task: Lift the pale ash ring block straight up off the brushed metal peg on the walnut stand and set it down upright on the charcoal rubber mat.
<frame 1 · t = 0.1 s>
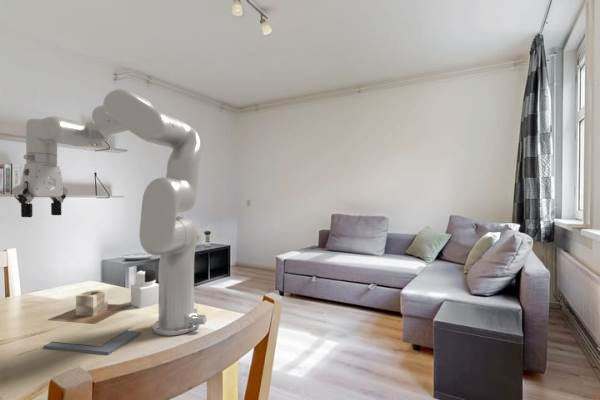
hand: (42, 216, 102), 31 cm above the table, tool pointing down, fingers open, 9 cm apart
ring block: (92, 312, 104), point 1 cm above the table, touching peg stand
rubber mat: (94, 340, 86), on the table
peg stand: (92, 314, 104), on the table
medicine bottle: (145, 306, 113), on the table
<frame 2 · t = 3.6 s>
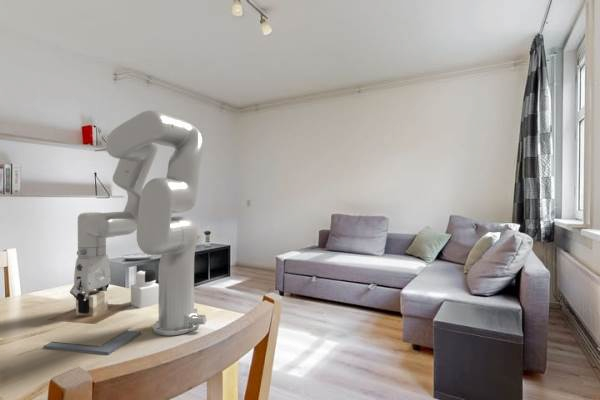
hand: (92, 308, 104), 2 cm above the table, tool pointing down, fingers closed on ring block, 6 cm apart
ring block: (92, 312, 104), point 1 cm above the table, touching gripper, peg stand
everything else where it was.
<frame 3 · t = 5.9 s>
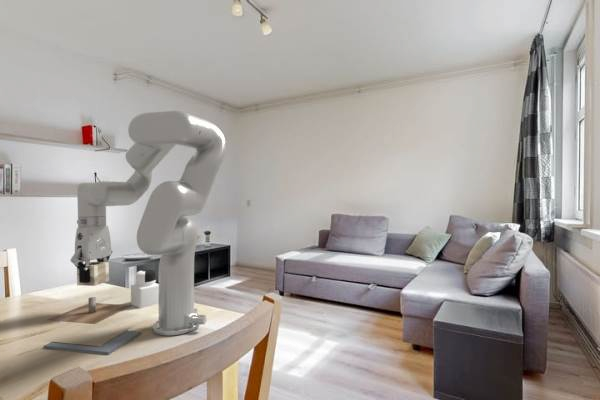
hand: (93, 279, 104), 11 cm above the table, tool pointing down, fingers closed on ring block, 6 cm apart
ring block: (93, 283, 104), point 10 cm above the table, touching gripper
everything else where it was.
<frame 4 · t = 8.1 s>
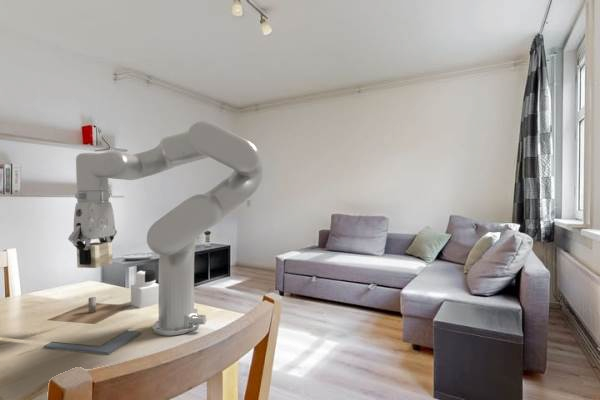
hand: (95, 261, 93), 19 cm above the table, tool pointing down, fingers closed on ring block, 6 cm apart
ring block: (95, 265, 93), point 18 cm above the table, touching gripper
everything else where it was.
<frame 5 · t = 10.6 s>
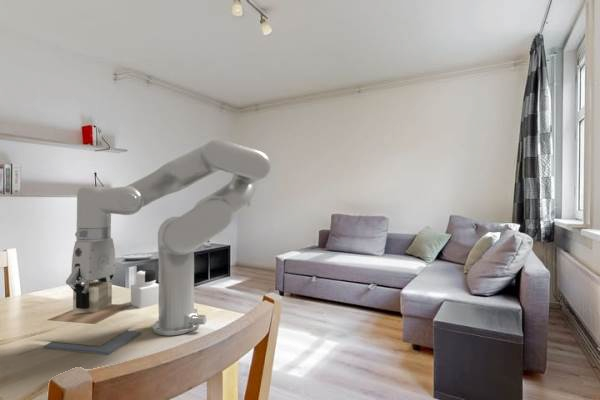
hand: (93, 303, 86), 10 cm above the table, tool pointing down, fingers closed on ring block, 6 cm apart
ring block: (92, 307, 86), point 9 cm above the table, touching gripper
everything else where it was.
when the fingers open (3 cm above the table, at t = 12.7 s): ring block drops 1 cm, resting on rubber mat.
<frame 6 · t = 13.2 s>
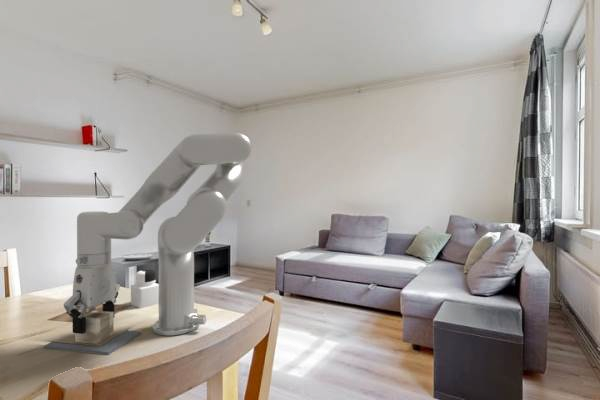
hand: (94, 325, 86), 4 cm above the table, tool pointing down, fingers open, 9 cm apart
ring block: (94, 338, 86), point 1 cm above the table, touching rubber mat
everything else where it was.
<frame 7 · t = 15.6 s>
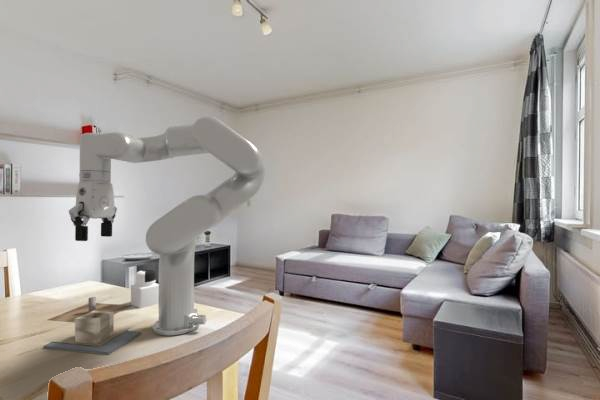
hand: (94, 238, 94), 25 cm above the table, tool pointing down, fingers open, 9 cm apart
nothing on the table moved.
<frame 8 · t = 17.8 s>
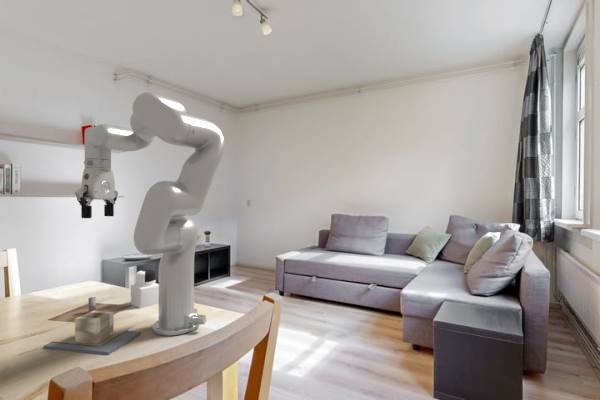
hand: (98, 217, 110), 30 cm above the table, tool pointing down, fingers open, 9 cm apart
nothing on the table moved.
at the end: ring block inside the target area on the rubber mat (0.0 cm from its centre), point 0.6 cm above the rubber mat's base; ring block tilted 0°; the gripper is holding nothing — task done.
